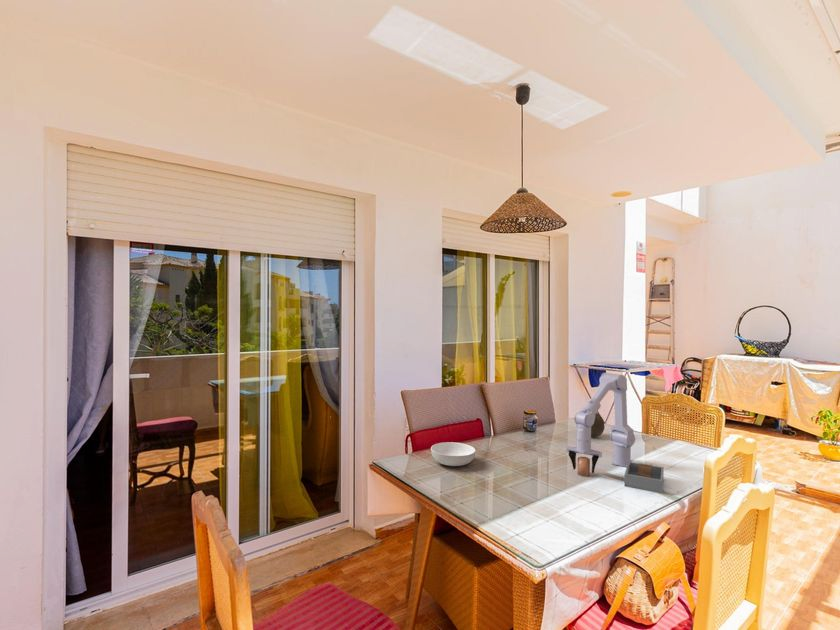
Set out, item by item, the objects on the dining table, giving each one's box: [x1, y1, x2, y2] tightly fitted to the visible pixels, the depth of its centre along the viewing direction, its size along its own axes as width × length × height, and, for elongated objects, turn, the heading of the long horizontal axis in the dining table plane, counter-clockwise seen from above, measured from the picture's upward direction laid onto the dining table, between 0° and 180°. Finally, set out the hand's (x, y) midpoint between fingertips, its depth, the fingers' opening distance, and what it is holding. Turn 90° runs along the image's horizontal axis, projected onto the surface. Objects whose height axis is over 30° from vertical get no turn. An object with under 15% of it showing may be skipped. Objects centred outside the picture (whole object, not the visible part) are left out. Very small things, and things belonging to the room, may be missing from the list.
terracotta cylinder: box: [577, 456, 591, 478], centre depth 188 cm, size 5×5×7 cm
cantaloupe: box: [591, 412, 605, 438], centre depth 246 cm, size 14×14×15 cm
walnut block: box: [638, 462, 653, 478], centre depth 183 cm, size 5×5×5 cm
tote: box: [624, 461, 665, 494], centre depth 180 cm, size 18×14×5 cm
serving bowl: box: [430, 441, 477, 467], centre depth 201 cm, size 21×21×7 cm
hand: (583, 470), depth 188 cm, fingers open, 7 cm apart
